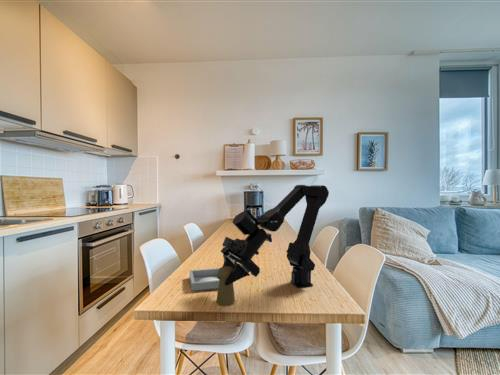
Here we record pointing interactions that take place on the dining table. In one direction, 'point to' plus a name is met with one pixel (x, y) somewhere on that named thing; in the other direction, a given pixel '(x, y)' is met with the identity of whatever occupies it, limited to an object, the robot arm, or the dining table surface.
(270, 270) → the dining table surface
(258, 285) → the dining table surface
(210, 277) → the walled pen
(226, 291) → the cork
